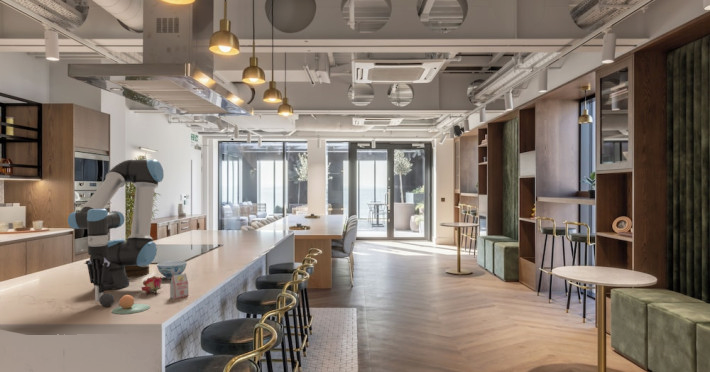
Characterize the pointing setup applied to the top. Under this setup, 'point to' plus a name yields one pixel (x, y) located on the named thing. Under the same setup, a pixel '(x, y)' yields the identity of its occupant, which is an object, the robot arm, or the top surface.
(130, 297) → the object ball
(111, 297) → the dark grey ball
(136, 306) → the green plate
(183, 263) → the chinaware
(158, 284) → the flower
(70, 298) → the top surface
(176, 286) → the white paper snack bag
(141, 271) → the wooden container
